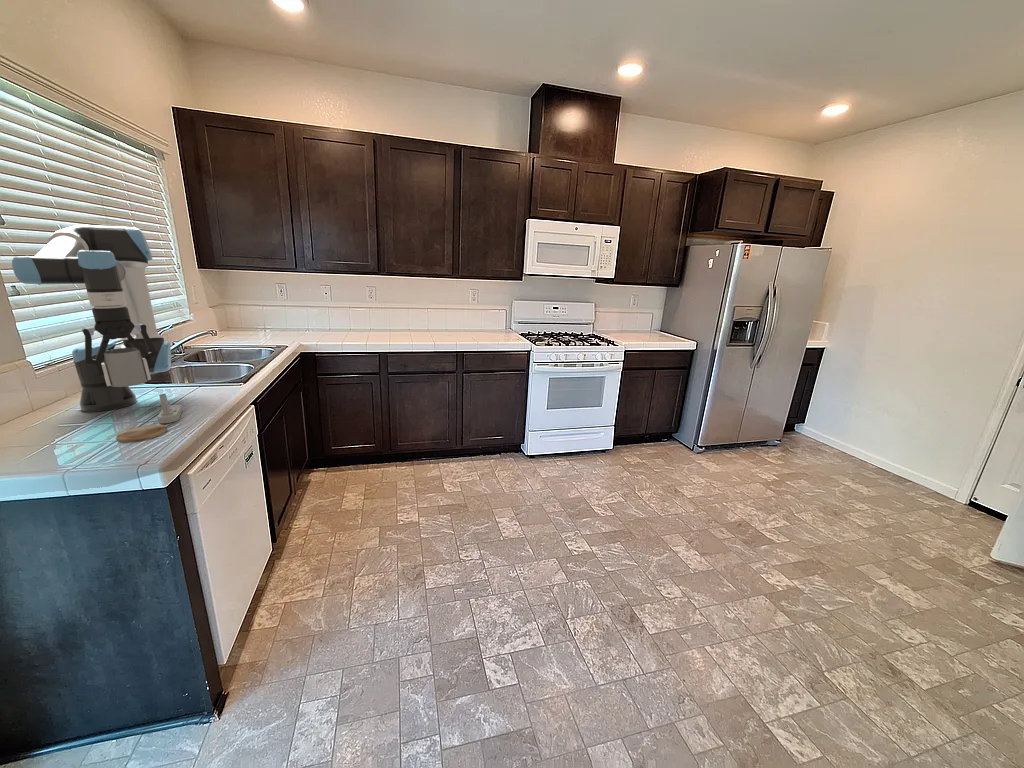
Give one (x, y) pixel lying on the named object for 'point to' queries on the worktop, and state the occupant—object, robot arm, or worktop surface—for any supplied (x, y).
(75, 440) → the worktop surface
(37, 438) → the worktop surface
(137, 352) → the cup
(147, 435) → the plate
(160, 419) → the electronic device
